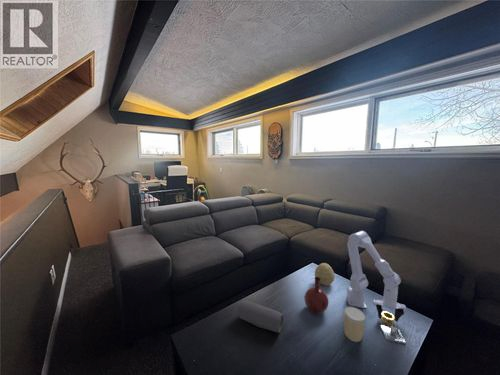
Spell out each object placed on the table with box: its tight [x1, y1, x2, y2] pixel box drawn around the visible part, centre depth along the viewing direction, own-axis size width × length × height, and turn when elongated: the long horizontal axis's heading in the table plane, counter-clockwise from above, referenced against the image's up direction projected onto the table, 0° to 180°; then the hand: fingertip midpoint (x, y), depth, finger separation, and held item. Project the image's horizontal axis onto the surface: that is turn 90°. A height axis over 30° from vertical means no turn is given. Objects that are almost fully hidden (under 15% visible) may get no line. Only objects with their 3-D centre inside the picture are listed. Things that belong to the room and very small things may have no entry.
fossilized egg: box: [314, 262, 335, 286], centre depth 137 cm, size 13×13×15 cm
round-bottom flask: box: [304, 277, 330, 314], centre depth 113 cm, size 13×13×20 cm
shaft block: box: [379, 324, 407, 345], centre depth 98 cm, size 8×8×4 cm
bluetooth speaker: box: [237, 300, 284, 334], centre depth 104 cm, size 23×9×10 cm, turn 65°
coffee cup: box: [343, 306, 367, 343], centre depth 97 cm, size 9×9×12 cm
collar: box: [380, 310, 395, 326], centre depth 106 cm, size 5×5×4 cm
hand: (387, 318), depth 106 cm, fingers open, 7 cm apart
